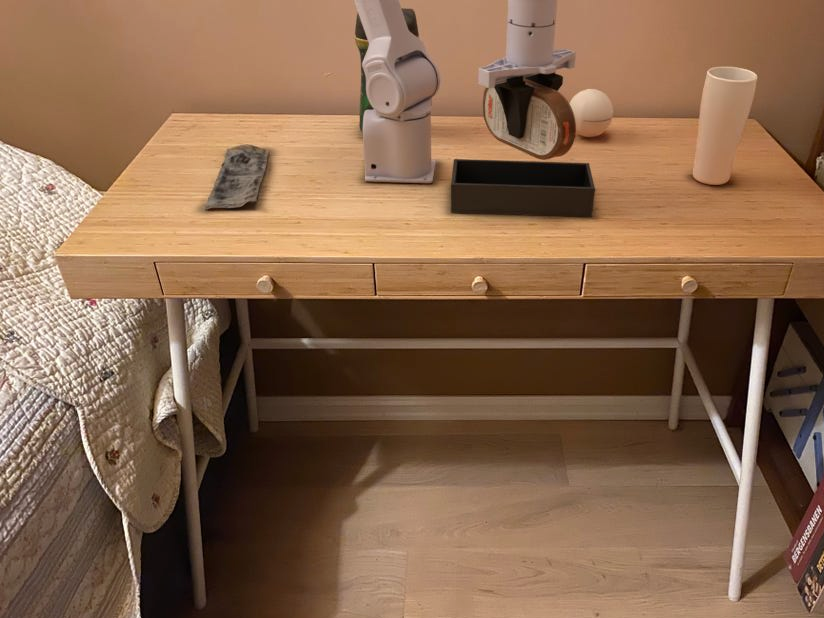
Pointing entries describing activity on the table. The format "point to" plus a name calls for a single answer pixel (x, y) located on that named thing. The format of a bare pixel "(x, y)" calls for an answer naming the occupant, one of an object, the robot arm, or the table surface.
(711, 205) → the table surface
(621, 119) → the table surface
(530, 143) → the tin
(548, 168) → the bin
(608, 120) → the white ball
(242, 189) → the driftwood
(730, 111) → the drinking glass
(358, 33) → the coffee jar
